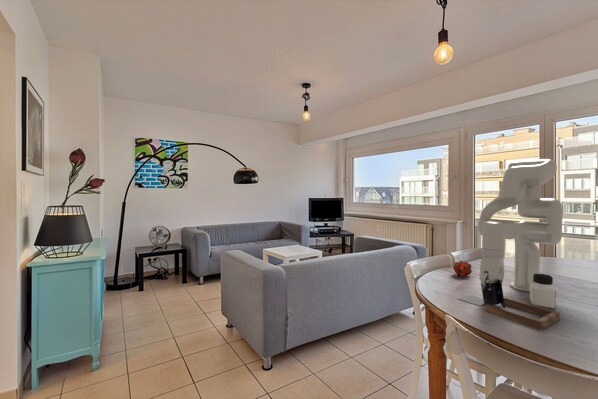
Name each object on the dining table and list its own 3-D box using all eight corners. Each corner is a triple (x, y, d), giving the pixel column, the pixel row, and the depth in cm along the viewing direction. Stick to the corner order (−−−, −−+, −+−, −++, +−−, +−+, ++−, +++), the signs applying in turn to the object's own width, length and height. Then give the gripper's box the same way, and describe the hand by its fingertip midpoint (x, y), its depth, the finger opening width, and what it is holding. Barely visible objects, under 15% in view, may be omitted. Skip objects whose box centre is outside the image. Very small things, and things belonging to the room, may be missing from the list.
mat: (469, 295, 129) (469, 294, 129) (491, 301, 121) (491, 301, 121) (457, 298, 124) (457, 298, 124) (479, 306, 116) (479, 305, 116)
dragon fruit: (466, 276, 163) (461, 284, 154) (452, 265, 167) (446, 272, 158) (476, 265, 159) (472, 273, 150) (462, 255, 162) (457, 262, 154)
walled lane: (504, 303, 120) (504, 297, 119) (559, 319, 104) (559, 312, 104) (485, 310, 112) (485, 304, 112) (541, 329, 97) (541, 322, 97)
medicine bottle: (555, 308, 114) (556, 278, 114) (532, 304, 118) (533, 275, 118) (551, 302, 120) (552, 273, 120) (529, 299, 124) (530, 271, 124)
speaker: (506, 303, 117) (503, 277, 117) (505, 308, 112) (502, 281, 112) (483, 300, 122) (481, 275, 121) (482, 305, 117) (479, 279, 117)
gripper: (493, 248, 124) (493, 290, 124) (471, 253, 115) (470, 298, 115) (514, 252, 117) (513, 296, 118) (492, 257, 108) (491, 305, 109)
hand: (492, 297), depth 117 cm, fingers closed on speaker, 6 cm apart
